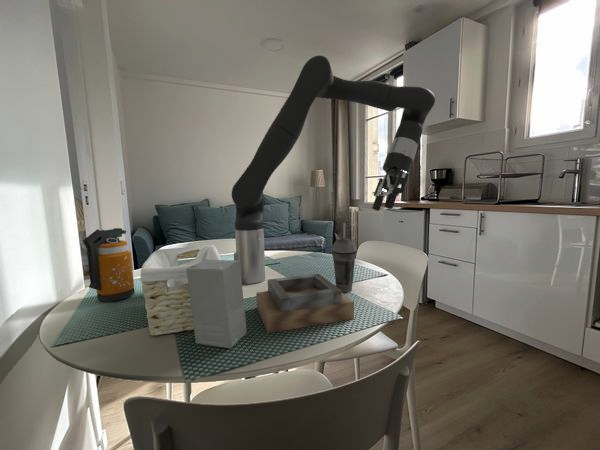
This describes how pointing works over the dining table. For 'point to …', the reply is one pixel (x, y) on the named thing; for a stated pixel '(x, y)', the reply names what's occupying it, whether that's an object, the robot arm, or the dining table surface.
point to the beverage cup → (344, 262)
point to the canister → (109, 265)
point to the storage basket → (171, 287)
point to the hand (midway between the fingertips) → (381, 209)
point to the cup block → (302, 303)
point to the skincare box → (217, 302)
